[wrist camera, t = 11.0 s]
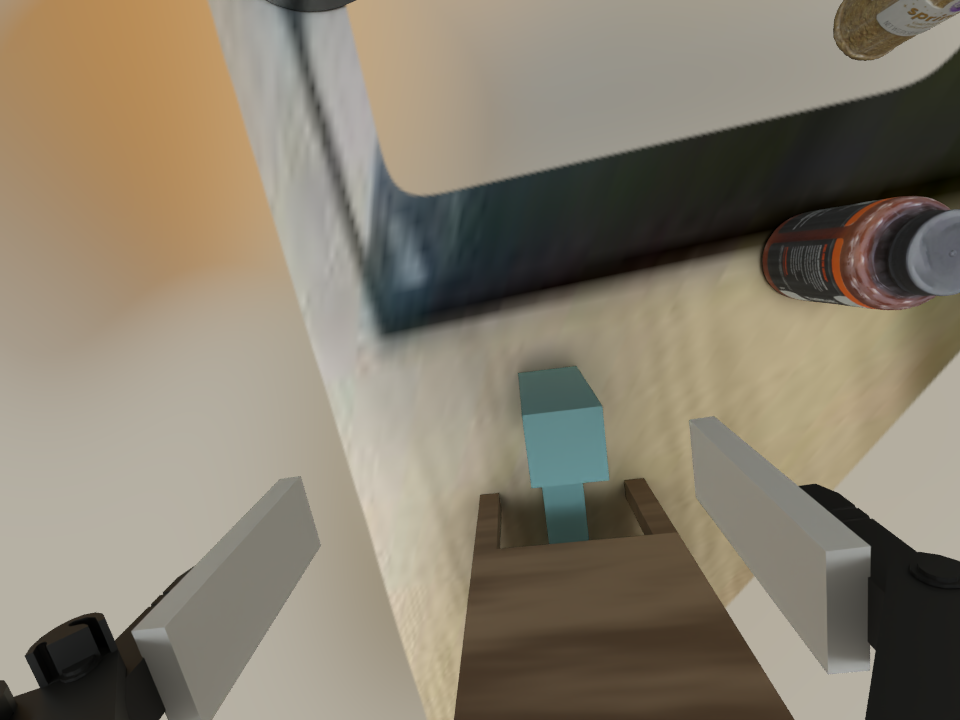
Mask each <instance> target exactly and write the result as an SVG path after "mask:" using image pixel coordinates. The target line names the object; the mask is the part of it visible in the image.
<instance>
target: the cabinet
mask: <svg viewBox="0 0 960 720" xmlns="http://www.w3.org/2000/svg"><path fill="white" fill-rule="evenodd" d="M624 481H625V493H626V499H627V501H628V503H629V505H630V507H631V509H632V511H633V513H634V515H635V517H636V519H637V521H638V523H639V525H640V527H641V529H642V531H643V533H644V535H643V536H632V537H622V538H611V539H600V540H589V541H578V542H567V543H556V544H545V545H535V546H524V547H513V548H502V549H500V536H501V505H500V498H499V493H496V494H486V495H480V503H479V511H478V520H477V528H476V537H475V545H474V554H473V562H472V571H471V579H470V588H469V597H468V605H467V614H466V622H465V631H464V639H463V648H462V656H461V665H460V673H459V682H458V690H457V699H456V707H455V716H454V720H794V718H793V717H792V715H791V713H790V712H789V710H788V709H787V707H786V705H785V704H784V702H783V701H782V699H781V697H780V696H779V694H778V693H777V691H776V689H775V688H774V686H773V685H772V683H771V682H770V680H769V678H768V677H767V675H766V673H765V672H764V670H763V669H762V667H761V665H760V664H759V662H758V661H757V659H756V657H755V656H754V654H753V653H752V651H751V649H750V648H749V646H748V645H747V643H746V641H745V640H744V638H743V637H742V635H741V633H740V632H739V630H738V629H737V627H736V626H735V624H734V622H733V621H732V619H731V617H730V616H729V614H728V612H727V611H726V609H725V608H724V606H723V604H722V603H721V601H720V600H719V598H718V596H717V595H716V593H715V592H714V590H713V588H712V587H711V585H710V584H709V582H708V580H707V579H706V577H705V576H704V574H703V572H702V571H701V569H700V568H699V566H698V564H697V563H696V561H695V560H694V558H693V556H692V555H691V553H690V552H689V550H688V548H687V547H686V545H685V544H684V542H683V540H682V539H681V537H680V536H679V534H678V532H677V531H676V529H675V528H674V526H673V524H672V523H671V521H670V520H669V518H668V516H667V515H666V513H665V512H664V510H663V508H662V507H661V505H660V504H659V502H658V500H657V499H656V497H655V496H654V494H653V492H652V491H651V489H650V488H649V486H648V484H647V483H646V481H645V480H644V478H643V479H633V480H624Z"/></svg>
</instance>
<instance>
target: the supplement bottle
mask: <svg viewBox="0 0 960 720" xmlns="http://www.w3.org/2000/svg"><path fill="white" fill-rule="evenodd" d="M763 270H764V274H765V277H766V279H767V281H768V282H769V284H770V285H771V286H772V287H773V288H774V289H775V290H776V291H777V292H779V293H780V294H782V295H785V296H787V297H790V298H793V299H798V300H804V301H813V302H822V303H831V304H840V305H846V306H854V307H862V308H870V309H880V310H901V309H907V308H911V307H915V306H919V305H921V304H923V303H925V302H927V301H929V300H930V299H932V298H934V297H935V296H948V295H953V294H957V293H960V209H956V210H950V209H949V208H948V207H947V206H945V205H944V204H942V203H940V202H938V201H936V200H933V199H931V198H926V197H919V196H906V197H895V198H889V199H883V200H877V201H870V202H864V203H859V204H852V205H847V206H841V207H835V208H829V209H823V210H817V211H811V212H807V213H803V214H799V215H797V216H794V217H792V218H790V219H788V220H786V221H785V222H783V223H782V224H781V225H780V226H779V227H778V228H777V229H776V230H775V231H774V232H773V233H772V235H771V236H770V238H769V240H768V241H767V243H766V246H765V248H764V252H763Z"/></svg>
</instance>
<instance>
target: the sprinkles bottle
mask: <svg viewBox="0 0 960 720" xmlns="http://www.w3.org/2000/svg"><path fill="white" fill-rule="evenodd" d="M959 12H960V0H843V2H842V3H841V5H840V7H839V8H838V10H837V13H836V16H835V19H834V29H833V32H834V39H835V41H836V44H837V46H838V47H839V49H840V50H841V51H843V52H844V54H845V55H846V56H849V57H850V58H851V59H855V60H864V61H866V60H874V59H878V58H880V57H882V56H884V55H886V54H887V53H889V52H891V51H892V50H893V49H894V48H895V47H896V46H898V45H900V44H902V43H903V42H905V41H907V40H909V39H911V38H912V37H914V36H916V35H918V34H920V33H922V32H925V31H927V30H929V29H931V28H933V27H934V26H936V25H937V24H940V23H941V22H943V21H945V20H947V19H949V18H950V17H952V16H954V15H956V14H958V13H959Z"/></svg>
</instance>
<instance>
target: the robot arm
mask: <svg viewBox="0 0 960 720" xmlns="http://www.w3.org/2000/svg"><path fill="white" fill-rule="evenodd" d="M267 1H269V2H271V3H273V4H276V5H279V6H281V7H285V8H289V9H294V10H300V11H323V10H329V9H334V8H338V7H341V6H344V5H346V4H349V3H351V2H353V1H355V0H267ZM689 424H690V435H691V447H692V458H693V470H694V481H695V493H696V498H697V499H698V501H699V502H700V503H701V505H702V506H703V507H704V509H705V510H706V511H707V513H708V514H709V515H710V517H711V518H712V519H713V521H714V522H715V523H716V525H717V526H718V527H719V529H720V530H721V531H722V533H723V534H724V535H725V537H726V538H727V539H728V541H729V542H730V544H731V545H732V546H733V548H734V549H735V550H736V552H737V553H738V554H739V556H740V557H741V558H742V560H743V561H744V562H745V564H746V565H747V566H748V568H749V569H750V570H751V572H752V573H753V574H754V576H755V577H756V578H757V580H758V581H759V582H760V584H761V585H762V586H763V588H764V589H765V590H766V592H767V593H768V594H769V596H770V597H771V599H772V600H773V601H774V603H775V604H776V605H777V607H778V608H779V609H780V611H781V612H782V613H783V615H784V616H785V617H786V619H787V620H788V621H789V623H790V624H791V625H792V627H793V628H794V629H795V631H796V632H797V633H798V634H799V636H800V637H801V639H802V640H803V641H804V643H805V644H806V645H807V647H808V648H809V649H810V651H811V652H812V654H813V655H814V656H815V658H816V659H817V660H818V662H819V663H820V664H821V666H822V667H823V668H824V670H825V671H826V672H827V674H836V673H847V672H858V671H869V670H870V645H871V646H872V647H873V648H874V649H875V650H876V653H875V659H874V666H873V672H872V679H871V686H870V692H869V699H868V705H867V711H866V717H865V720H960V561H957V560H954V559H951V558H947V557H944V556H941V555H936V554H930V553H923V552H916V551H915V550H914V549H912V548H911V547H910V546H908V545H907V544H906V543H904V542H903V541H902V540H900V539H899V538H898V537H896V536H895V535H894V534H892V533H891V532H890V531H888V530H887V529H886V528H884V527H883V526H882V525H880V524H879V523H877V522H876V521H875V520H874V519H870V518H869V516H868V515H867V514H865V513H864V512H863V511H862V510H860V509H859V508H856V507H855V505H854V504H852V503H851V502H850V501H848V500H847V499H845V498H844V497H843V496H842V495H840V494H839V493H837V492H834V491H832V490H830V489H827V488H825V487H822V486H820V485H817V484H810V485H803V486H797V485H796V484H795V483H794V482H793V481H791V480H790V479H789V478H788V477H787V476H785V475H784V474H783V473H782V472H780V471H779V470H778V469H777V468H776V467H774V466H773V465H772V464H771V463H770V462H768V461H767V460H766V459H765V458H764V457H762V456H761V455H760V454H759V453H758V452H756V451H755V450H754V449H753V448H752V447H750V446H749V445H748V444H747V443H746V442H744V441H743V440H742V439H741V438H740V437H738V436H737V435H736V434H735V433H734V432H732V431H731V430H730V429H729V428H727V427H726V426H725V425H724V424H723V423H721V422H720V421H719V420H718V419H717V418H715V417H714V416H712V417H705V418H698V419H691V420H689ZM320 546H321V544H320V540H319V538H318V534H317V530H316V527H315V524H314V520H313V517H312V514H311V510H310V506H309V503H308V500H307V496H306V493H305V490H304V486H303V483H302V479H301V476H298V477H292V478H284V479H280V480H279V481H278V482H277V483H276V484H275V485H274V486H273V487H272V488H271V489H270V490H269V491H268V492H267V493H266V494H265V495H264V496H263V497H262V498H261V499H260V500H259V501H258V502H257V503H256V504H255V505H254V506H253V507H252V508H251V509H250V510H249V511H248V512H247V513H246V514H245V515H244V516H243V517H242V518H241V519H240V520H239V521H238V522H237V523H236V525H235V526H234V527H233V528H232V529H231V530H230V531H229V532H228V533H227V534H226V535H225V536H224V537H223V538H222V539H221V540H220V541H219V542H218V543H217V544H216V545H215V546H214V547H213V548H212V549H211V550H210V551H209V552H208V553H207V554H206V555H205V556H204V557H203V558H202V559H201V561H199V562H198V563H197V564H196V565H195V566H194V567H192V568H191V569H190V570H188V571H187V572H185V573H184V574H182V575H181V576H179V577H178V578H177V579H176V580H175V581H174V582H173V583H172V584H171V585H170V586H169V587H168V588H167V589H166V590H165V591H164V592H163V595H160V596H159V597H158V598H157V599H156V600H155V601H154V602H153V603H152V604H151V607H148V608H147V609H146V610H145V611H144V612H143V613H142V614H141V615H140V616H139V617H138V618H137V619H136V620H135V621H134V622H133V623H132V624H131V625H130V626H129V627H128V628H127V629H126V630H125V631H124V632H123V633H122V634H121V635H120V636H119V637H118V638H117V639H116V640H115V641H114V638H113V636H112V634H111V631H110V629H109V627H108V624H107V622H106V620H105V617H104V615H103V614H102V613H90V614H86V615H82V616H79V617H77V618H74V619H72V620H70V621H67V622H65V623H64V624H62V625H60V626H58V627H56V628H54V629H53V630H51V631H50V632H48V633H47V634H46V635H44V636H43V637H41V638H40V639H39V640H38V641H37V642H36V643H35V644H34V645H32V646H31V647H30V649H29V650H28V652H27V653H26V655H25V657H26V660H27V662H28V664H29V665H30V668H31V670H32V672H33V674H34V676H35V678H36V680H37V682H38V684H39V686H40V688H39V689H36V690H33V691H30V692H27V693H24V694H21V695H18V696H15V697H13V695H12V694H11V691H10V689H9V687H8V685H7V684H6V683H5V681H4V680H0V720H159V719H160V718H161V716H162V715H163V714H164V712H165V714H166V716H167V718H168V720H212V719H213V717H214V716H215V714H216V712H217V711H218V709H219V708H220V706H221V704H222V703H223V701H224V700H225V698H226V696H227V695H228V693H229V692H230V690H231V688H232V686H233V685H234V683H235V682H236V680H237V679H238V677H239V676H240V674H241V672H242V671H243V669H244V667H245V666H246V664H247V663H248V661H249V660H250V658H251V656H252V655H253V653H254V652H255V650H256V648H257V647H258V645H259V644H260V642H261V640H262V639H263V637H264V635H265V634H266V632H267V631H268V629H269V628H270V626H271V624H272V623H273V621H274V620H275V618H276V616H277V615H278V613H279V611H280V610H281V608H282V607H283V605H284V603H285V602H286V600H287V599H288V597H289V596H290V594H291V592H292V591H293V589H294V588H295V586H296V584H297V583H298V581H299V580H300V578H301V576H302V575H303V573H304V572H305V570H306V568H307V567H308V565H309V564H310V562H311V560H312V559H313V557H314V556H315V554H316V552H317V551H318V549H319V548H320Z"/></svg>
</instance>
